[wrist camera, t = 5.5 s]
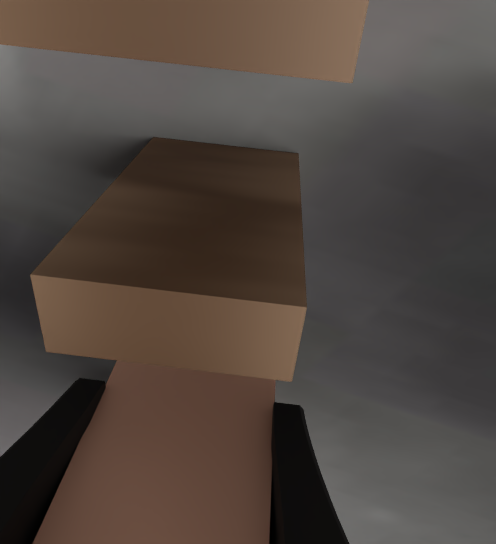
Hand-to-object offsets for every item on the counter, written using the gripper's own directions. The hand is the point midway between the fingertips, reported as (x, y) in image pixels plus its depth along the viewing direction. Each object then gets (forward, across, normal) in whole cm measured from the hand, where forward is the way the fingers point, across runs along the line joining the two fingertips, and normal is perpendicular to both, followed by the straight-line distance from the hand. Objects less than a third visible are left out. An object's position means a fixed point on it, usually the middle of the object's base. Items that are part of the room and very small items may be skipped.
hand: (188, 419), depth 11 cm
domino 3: (+3, 0, 0) cm, 3 cm away
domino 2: (+5, 0, -4) cm, 7 cm away
